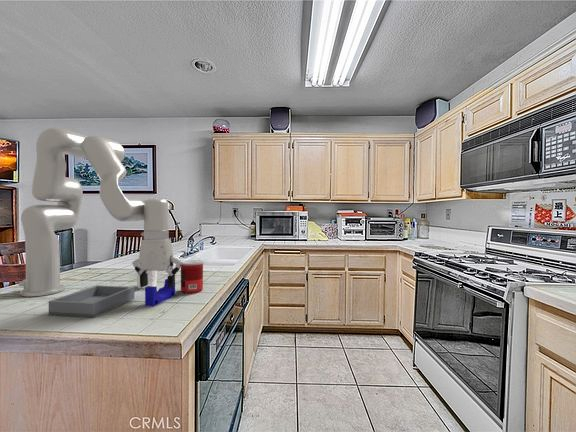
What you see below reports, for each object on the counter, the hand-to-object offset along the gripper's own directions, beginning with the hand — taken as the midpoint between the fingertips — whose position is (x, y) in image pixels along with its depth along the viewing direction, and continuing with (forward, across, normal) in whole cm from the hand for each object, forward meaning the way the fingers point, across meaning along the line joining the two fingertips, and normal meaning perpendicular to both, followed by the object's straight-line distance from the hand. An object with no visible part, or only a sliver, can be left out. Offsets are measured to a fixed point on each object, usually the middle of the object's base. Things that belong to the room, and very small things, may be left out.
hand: (157, 286), depth 100 cm
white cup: (+4, -14, +15) cm, 21 cm away
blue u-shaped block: (+5, 0, 0) cm, 5 cm away
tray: (+4, -16, -9) cm, 18 cm away
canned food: (+5, +6, +12) cm, 14 cm away
